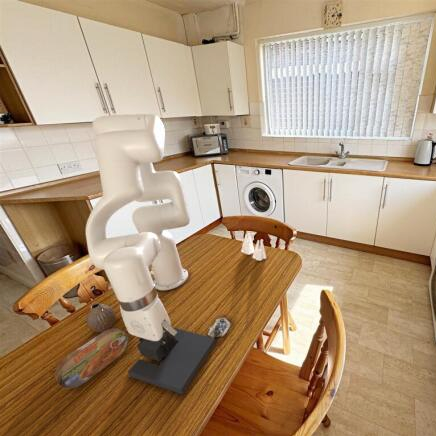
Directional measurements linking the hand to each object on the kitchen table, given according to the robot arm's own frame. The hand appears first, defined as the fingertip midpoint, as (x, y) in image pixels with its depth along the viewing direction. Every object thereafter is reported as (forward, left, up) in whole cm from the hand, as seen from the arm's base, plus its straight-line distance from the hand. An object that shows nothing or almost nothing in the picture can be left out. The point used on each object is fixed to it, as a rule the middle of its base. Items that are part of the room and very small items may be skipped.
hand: (158, 346), depth 64 cm
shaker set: (+5, +50, -3) cm, 50 cm away
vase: (-24, +3, -3) cm, 25 cm away
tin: (-13, -7, -3) cm, 15 cm away
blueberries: (+11, +12, -3) cm, 16 cm away
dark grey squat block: (0, 0, -1) cm, 1 cm away
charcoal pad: (+5, 0, -3) cm, 6 cm away
